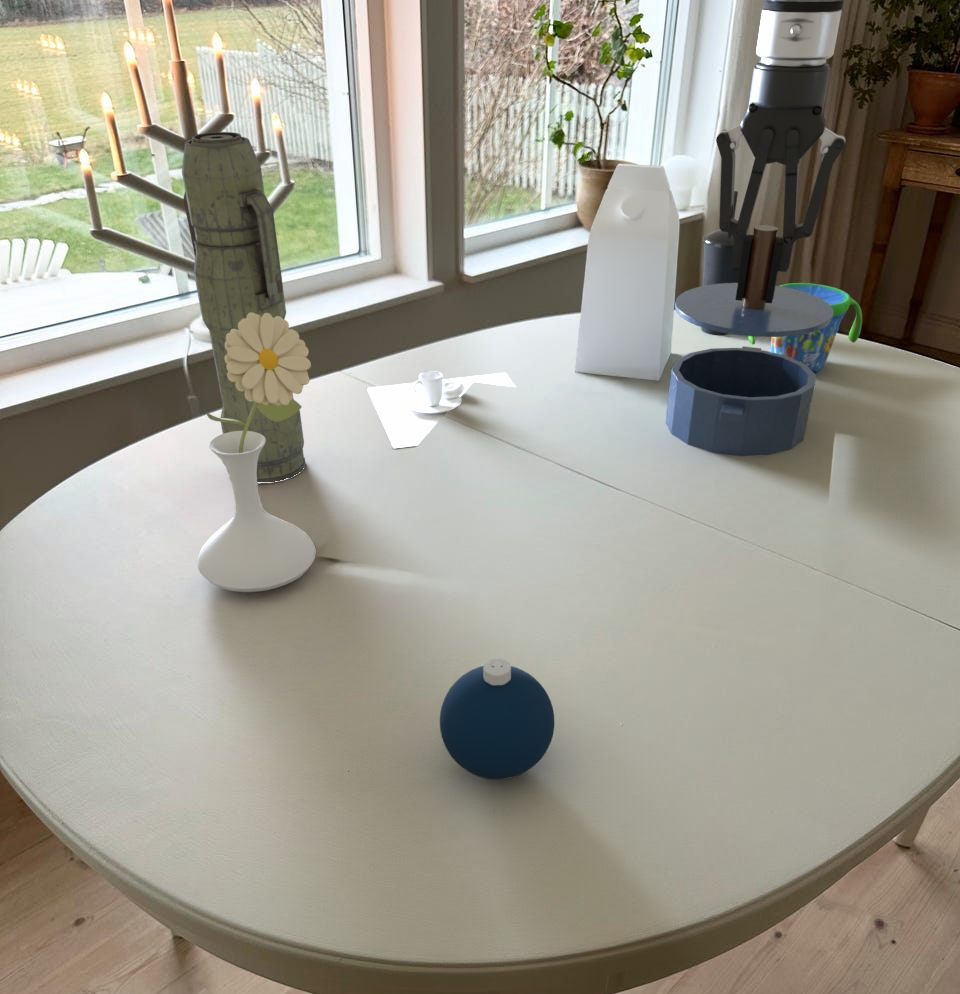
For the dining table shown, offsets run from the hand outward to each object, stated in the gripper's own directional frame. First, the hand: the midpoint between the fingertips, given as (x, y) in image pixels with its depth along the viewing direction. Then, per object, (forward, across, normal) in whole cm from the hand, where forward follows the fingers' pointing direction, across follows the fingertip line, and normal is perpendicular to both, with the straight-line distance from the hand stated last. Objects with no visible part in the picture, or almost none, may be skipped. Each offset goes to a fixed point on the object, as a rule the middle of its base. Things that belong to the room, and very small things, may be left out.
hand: (754, 297), depth 110 cm
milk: (+17, -18, +19) cm, 31 cm away
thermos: (+17, -51, -27) cm, 60 cm away
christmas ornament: (+17, -10, -66) cm, 69 cm away
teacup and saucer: (+17, -36, -4) cm, 40 cm away
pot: (+16, 0, 0) cm, 16 cm away
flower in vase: (+17, -40, -47) cm, 64 cm away
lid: (+2, 0, 0) cm, 2 cm away
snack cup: (+17, +6, +25) cm, 31 cm away
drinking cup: (+17, -7, +37) cm, 41 cm away
